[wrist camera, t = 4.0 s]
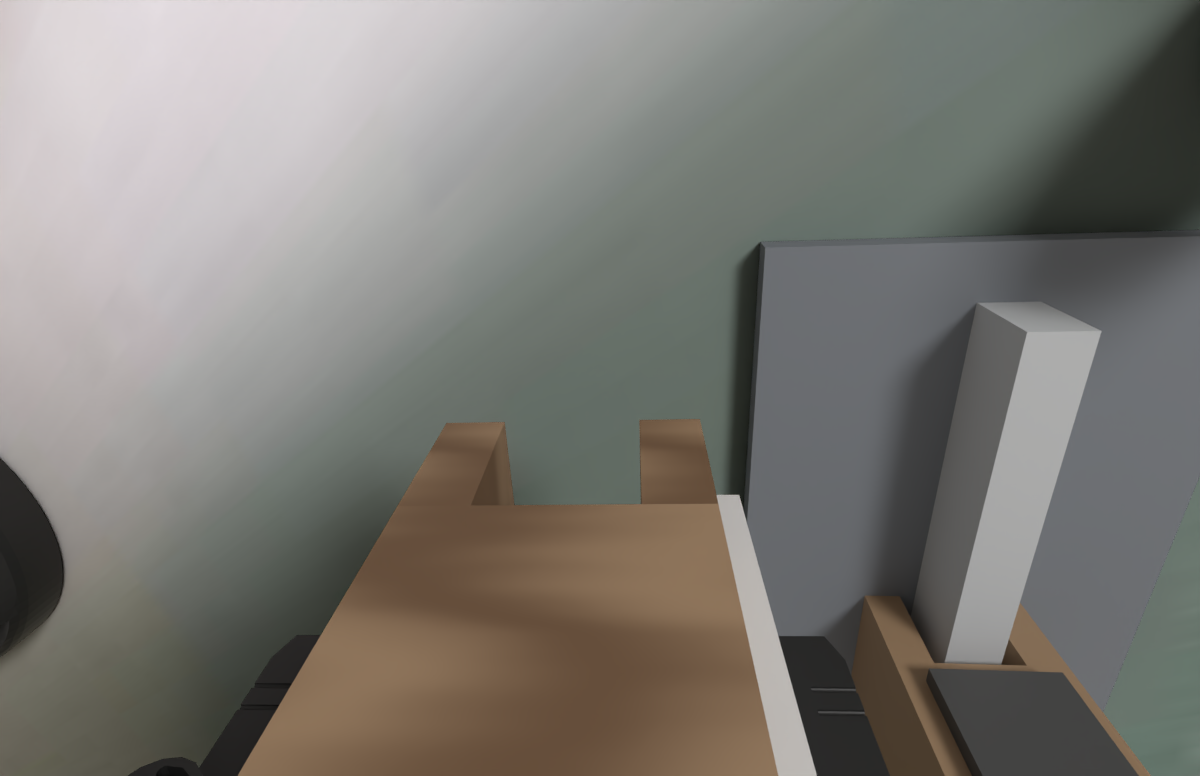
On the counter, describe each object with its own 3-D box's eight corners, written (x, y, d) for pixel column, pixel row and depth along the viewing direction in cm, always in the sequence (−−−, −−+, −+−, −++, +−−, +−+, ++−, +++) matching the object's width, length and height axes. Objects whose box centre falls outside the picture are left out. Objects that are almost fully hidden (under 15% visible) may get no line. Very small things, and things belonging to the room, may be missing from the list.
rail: (731, 698, 30) (772, 992, 20) (760, 241, 21) (859, 357, 11) (1081, 710, 29) (1313, 1032, 19) (1269, 227, 20) (1904, 346, 10)
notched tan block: (475, 603, 17) (295, 1170, 8) (446, 423, 15) (146, 928, 6) (694, 604, 17) (770, 1198, 8) (699, 419, 14) (817, 951, 5)
